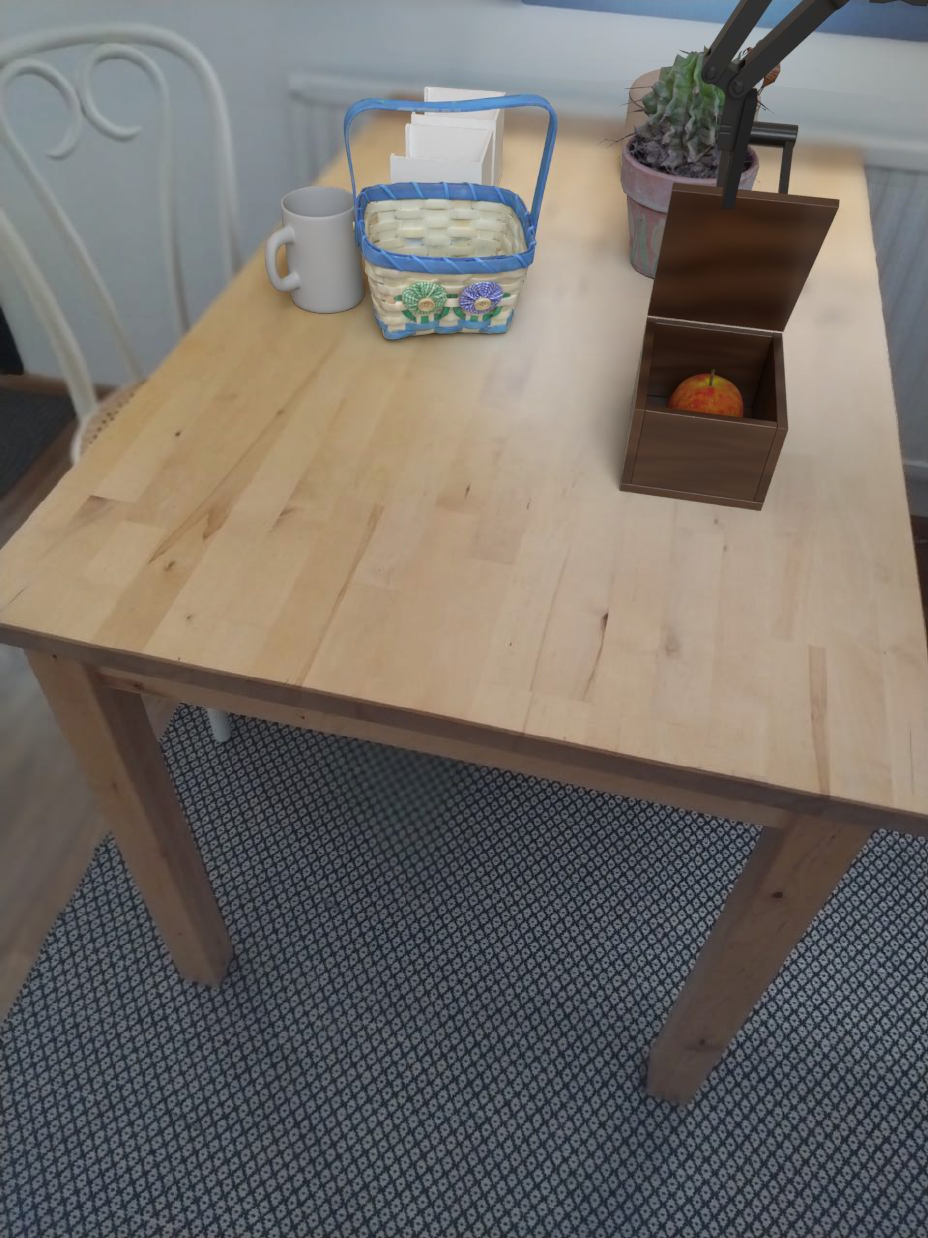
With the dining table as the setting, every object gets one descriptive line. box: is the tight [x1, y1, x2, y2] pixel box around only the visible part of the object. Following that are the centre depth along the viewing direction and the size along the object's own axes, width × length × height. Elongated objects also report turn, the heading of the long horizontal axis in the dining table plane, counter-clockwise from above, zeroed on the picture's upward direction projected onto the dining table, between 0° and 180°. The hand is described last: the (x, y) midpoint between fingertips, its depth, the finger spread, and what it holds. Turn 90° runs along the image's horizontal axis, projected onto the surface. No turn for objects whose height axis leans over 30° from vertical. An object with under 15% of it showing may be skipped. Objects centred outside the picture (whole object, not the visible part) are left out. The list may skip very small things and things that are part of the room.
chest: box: [619, 316, 789, 511], centre depth 86 cm, size 16×13×9 cm
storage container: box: [389, 86, 507, 220], centre depth 121 cm, size 25×11×11 cm, turn 172°
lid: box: [646, 120, 841, 333], centre depth 81 cm, size 17×13×10 cm
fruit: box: [667, 369, 743, 418], centre depth 86 cm, size 7×7×8 cm
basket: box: [343, 93, 558, 340], centre depth 96 cm, size 21×16×24 cm
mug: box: [264, 185, 365, 314], centre depth 103 cm, size 12×8×11 cm
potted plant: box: [597, 38, 781, 279], centre depth 106 cm, size 18×20×25 cm
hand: (831, 211), depth 61 cm, fingers open, 13 cm apart
